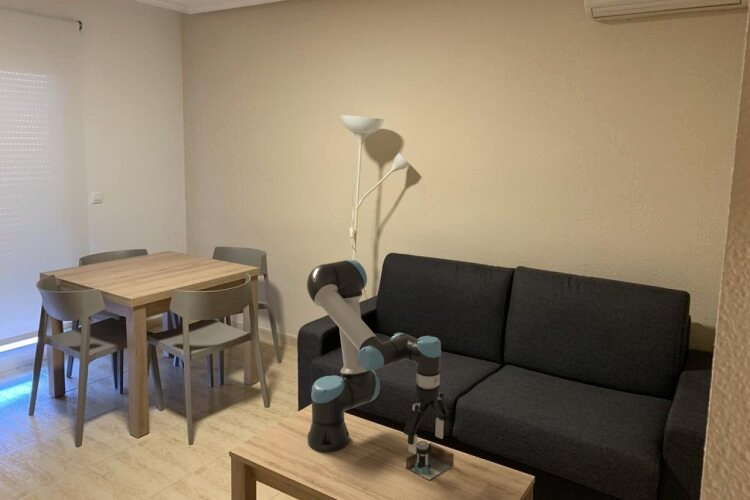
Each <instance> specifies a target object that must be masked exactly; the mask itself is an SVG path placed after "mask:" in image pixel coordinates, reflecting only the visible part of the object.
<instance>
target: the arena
mask: <svg viewBox="0 0 750 500" xmlns="http://www.w3.org/2000/svg"><path fill="white" fill-rule="evenodd" d="M428 444H429V445H430V446H431V450H430V453H428V463H429V464H430V469H433V470H434V471H431V472H434V473H433V474H432V473H428V474H424V473H422V474H421V473H419V472H417V471H415V464H416V462H417V452H416V454H413V453H411V452H410V453H409V454H407V455H406V457H405V459H406V460H405V462H406V463H405V465H406V466H405V468H406V469H407V470H409V471H411V472H412V473H414V474H416V475H418V476H420V477H422V478H423V479H426V480H427V481H429V482H430V481H432V480H434V479H435V478H436V477H438V476H440V475H441V474H443V473H444V472H446V471H447V470H449V469H451V468H452V467H454V461H455V459H454V458H455V457H454V456H455V454H454V453H453V452H451V451H449V450H447V449H444V448H443V447H441V446H438V445H437V444H434V443H432V442H429V443H428Z"/></svg>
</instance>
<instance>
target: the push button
mask: <svg viewBox="0 0 750 500" xmlns="http://www.w3.org/2000/svg"><path fill="white" fill-rule="evenodd" d="M430 450H431V446H430V445H429V443H428V442H427V441H425V440H424V441H423V440H421V441H418V442H417V448H416V452H417V462H416V464H415V471H417V472H419V473H421V474H422V473H424V474H428V473H432V474H433V473H434V472H431V471H434V470H433V469H430V464H429V463H428V453H430Z"/></svg>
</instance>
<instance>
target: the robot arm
mask: <svg viewBox="0 0 750 500" xmlns="http://www.w3.org/2000/svg"><path fill="white" fill-rule="evenodd" d="M367 283H368V276H367V272H366V270H365V268H364V266H363V265H362V264H361V263H360V262H359V261H357V260H355V259H349V260H347V259H346V260H340V261H336V262H335V261H334V262H330V263H329V262H328V263H323V264H319V265H317V266H315V267H314V268H313V269H312V270H311V271H310V273H309V275H308V276H307V281H306V289H307V292H308V295H309V297H310V299H311V300H312V302H313V303H314V304H315V305H316V306H318V307H321V308H322V309H323V310H324V311H325V313H326V314H327V315H328V316H329V317H330V319H331V320H332V321H333V322H334V323H335V325H336V326H337V327H338V328H339V331H338V332H339V336H340V345H341V354H342V361H343V366H342V368H341V369H340V370H339V371H340V372H339V373H340V376H339V375H336V374H335V375H326V376H322V377H320V378H318V379H316V381H314V383H312V387H311V394H310V395H311V396H310V397H311V419H312V420H311V424H310V429H309V431H308V434H307V444H308V446H309V447H310V448H311V449H313V450H315V451H319V452H329V453H330V452H336V451H340V450H342V449H344V448H345V447H347V446H348V445H349V444H350V433H349V430H348V427H347V425H346V422H345V411H348V410H351V409H355V408H358V407H359V406H360V407H361V406H362V405H366V404H369V403H370V402H373V401H375V399H376V398H377V397H378V396H379V393H380V390H381V383H380V382H381V381H380V378H379V376H377V374H378V373H376V371H375V370H380V369H381V368H385V367H387V366H390V365H391V366H392V365H394V364H397V363H400V362H403V361H409V362H412V363H414V364H416V378H415V379H416V387H415V396H416V397H417V402H416V403H413V402H412V403H411V404H410V409H409V413H408V416H407V418H406V422H405V426H404V428H403V431H402V432H403V434H405V435H406V436H407V443H408V452H409V453H410V454H411V453H413V454H416V448H417V443H418V442H417V441H418V438H417V437H418V434H416V433H417V431H418V429H419V427H420V425H421V423H422V420H423V418H425V417H426V416H427V414H428V413H430V412H432V411H433V413H434V414H435V415H436V418H435V430H434V431H435V434H434V435H435V437H436V438H438V439H441V440H442V439H443V438H444V426H445V421H447V420H448V416H449V415H450V413H449V409H448V407H447V405H446V402H445V398H444V396H445V395H444V393H443V392H440V390H441V389H440V382H441V381H440V380H441V377H440V375H441V359H442V344H441V340H440V339H439V338H438V337H435V336H432V335H424V336H423V335H422V336H420V337H419V338H416V337H414V336H411V335H410V334H407V333H403V332H396V333H394V334H393V336H391V337H390V339H389V340H386V341H381V340H380V339H379V337H378V336H377V335H376V334H375V333H374V332H373V330H372V329H371V328H370V327H369V326H368V325H367V324H366V323H365V321H363V319H362V315H361V313H362V312H361V306H360V299H361V298H362V297H363V289H364V288H366V286H367Z"/></svg>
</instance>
